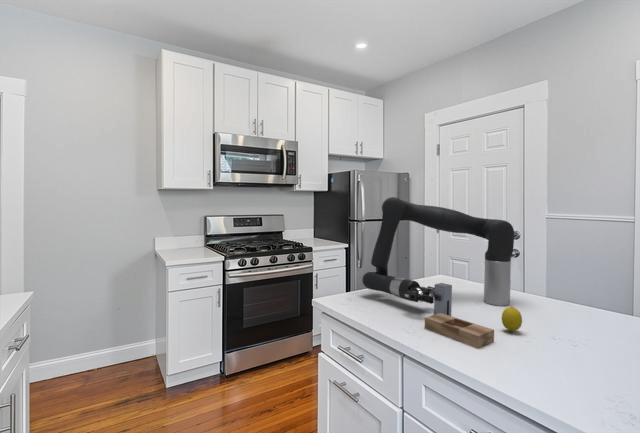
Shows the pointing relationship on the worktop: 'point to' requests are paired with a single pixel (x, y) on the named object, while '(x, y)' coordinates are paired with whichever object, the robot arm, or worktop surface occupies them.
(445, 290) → the block
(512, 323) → the lemon
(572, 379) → the worktop surface
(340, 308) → the worktop surface
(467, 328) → the wooden slotted base
